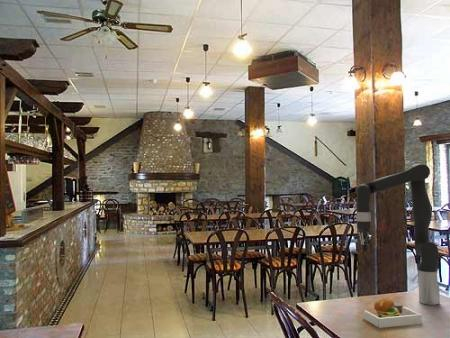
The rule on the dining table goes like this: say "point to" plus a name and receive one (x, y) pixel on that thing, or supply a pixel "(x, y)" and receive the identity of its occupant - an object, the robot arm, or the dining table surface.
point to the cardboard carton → (398, 306)
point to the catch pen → (395, 319)
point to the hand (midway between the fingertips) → (364, 251)
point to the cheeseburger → (386, 308)
